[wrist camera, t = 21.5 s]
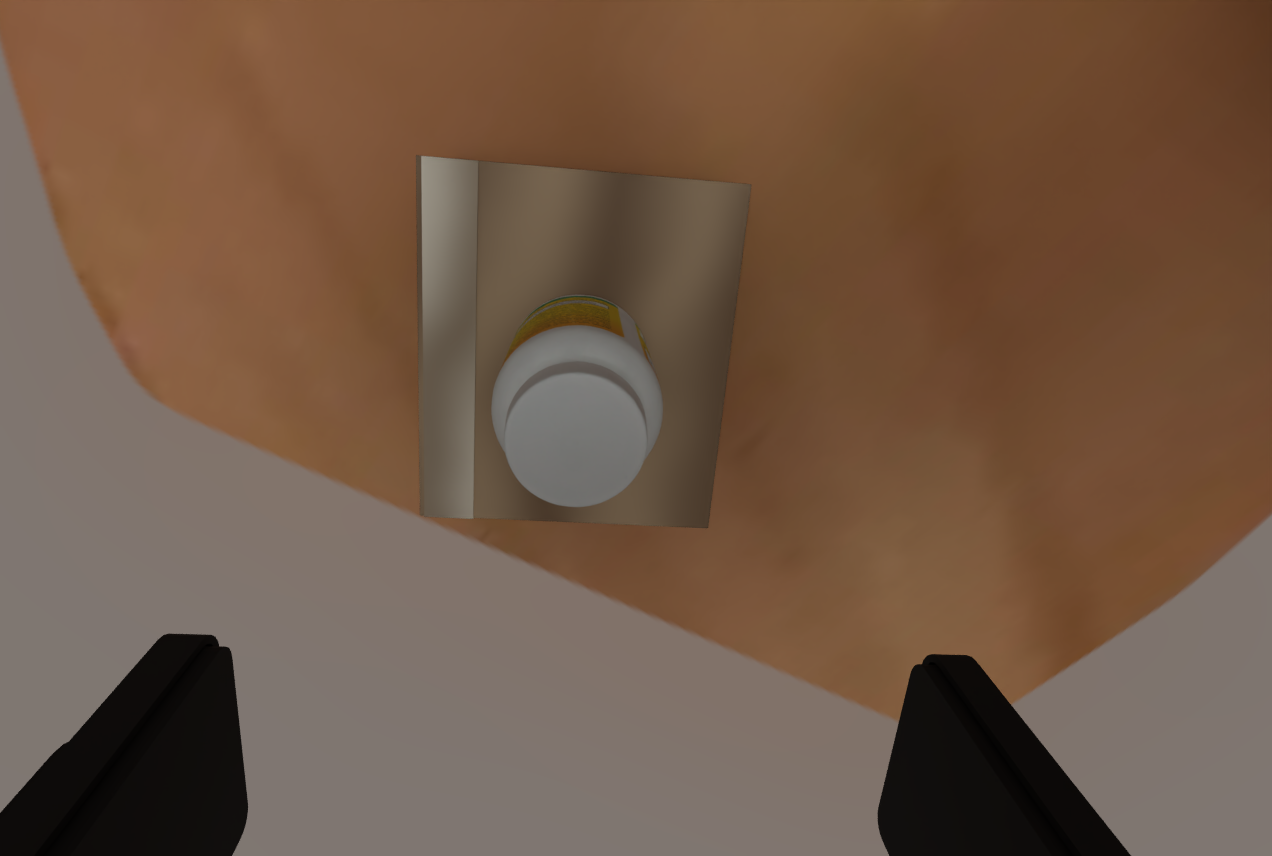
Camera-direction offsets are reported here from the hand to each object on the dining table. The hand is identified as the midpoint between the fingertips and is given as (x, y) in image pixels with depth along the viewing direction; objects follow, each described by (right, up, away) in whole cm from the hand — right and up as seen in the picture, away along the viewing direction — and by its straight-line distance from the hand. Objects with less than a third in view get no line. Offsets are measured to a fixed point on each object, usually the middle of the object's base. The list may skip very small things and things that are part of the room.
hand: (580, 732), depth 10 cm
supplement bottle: (-1, +7, +20) cm, 21 cm away
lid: (-2, +7, +20) cm, 21 cm away
